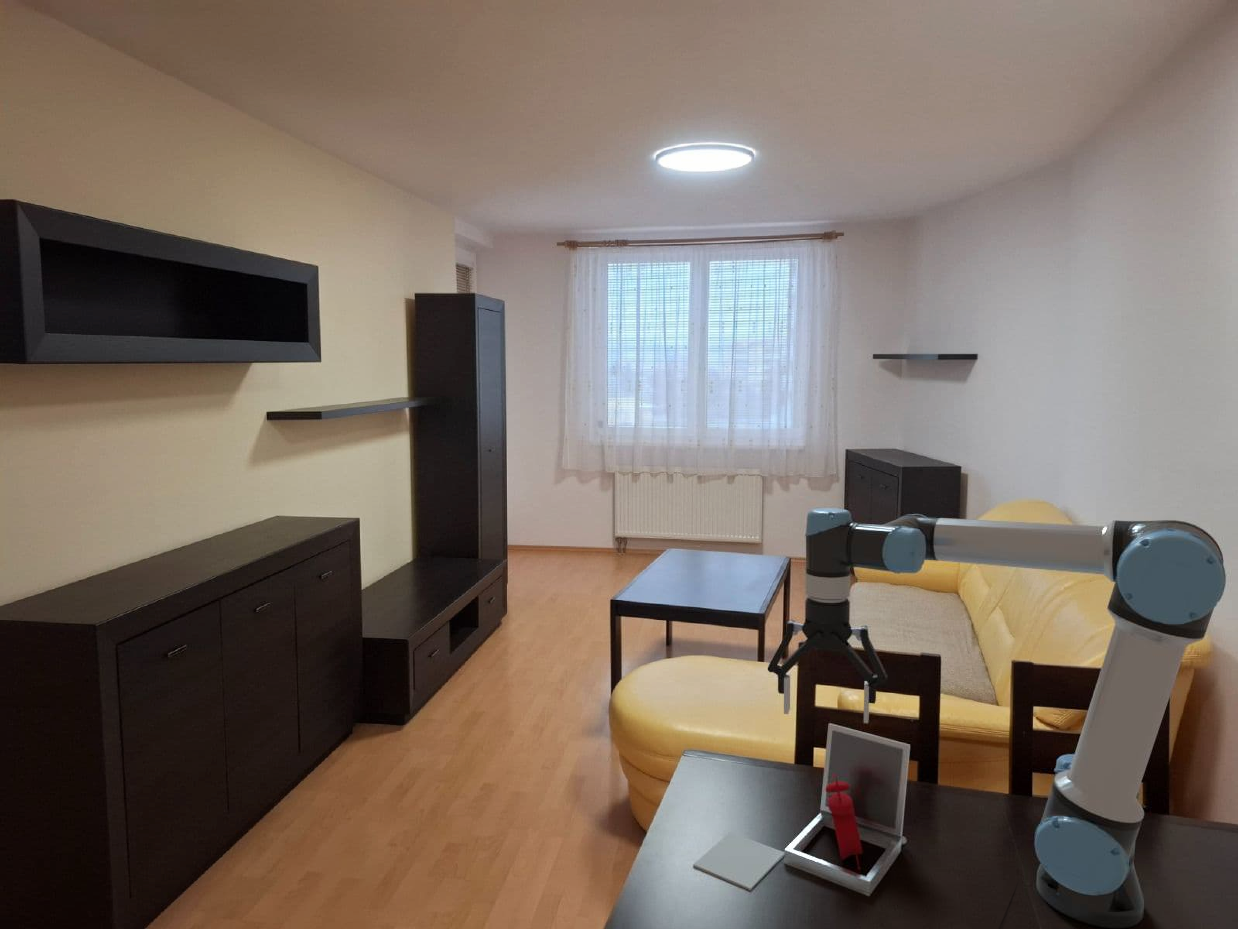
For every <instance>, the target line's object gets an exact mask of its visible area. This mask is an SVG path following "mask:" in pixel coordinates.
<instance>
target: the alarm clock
mask: <svg viewBox="0 0 1238 929" xmlns="http://www.w3.org/2000/svg"><path fill="white" fill-rule="evenodd" d="M834 776H835V781H836V782H833V783H829V784H828V785H827V786H826V792H828V793H832V792H837V793H836V794H833V795H829V800H828V807H829V810H830V811H831V812H832V817H833V822H834V827H835V829H834V831H835V836H836V841H837V845H838V850H839V854H840V859H841V861H844V860H846V859H847V858H849V857H851V856H855V859H856V860H855V861H856V863H857V870H861V867H860V862H859V857H858V855H862V854H863V853H864V852H863V847H862V842H861V839H860V837H859V832H858V827H857V823H856V818H855V813H854V809H853V802H852V799H851V797H849V796H848V795H847V794H844V793H839V792H841V791H846V790H849V789H850V787H849V785H848V784H847V783H846V782H838V781H837V777H836V773H835V772H834Z"/></svg>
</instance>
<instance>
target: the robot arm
mask: <svg viewBox="0 0 1238 929" xmlns="http://www.w3.org/2000/svg"><path fill="white" fill-rule="evenodd" d="M804 537H805V588H804V589H805V595H806V596H807V597H806V598H805V600H804V601H805V602H804V603H805V604H804V609H805V610H804V611H805V612H804V616H805V618H804V622H803V623H800V622H795V620H794V619H790V620H789V621H788V622H787V624H786V630H785V635H784V636H783V639H782V640H781V642H780V644H779V646H778V648H777V650H776V651H775V653H774V655H773V656H772V659H771V660H770V662H769V664H768V666H767V671H768V672H769V673H773V674H775V675H776V677H777V693H778V694H782V695H783V714H785V715H789V712H790V709H791V673H789V671H790V670H791V669H792V668H793V667H794V666H796V664H797V663H798V662H799V661H800V660H801V659H802V658H803V657H804V656H805V655H806V654H807V653H808V652H809V651H810V650H811V649H812V648H814V649H816V650H817V651H819V652H820V651H821V652H822V651H829V652H831V653H832V652H833V653H836V652H837V651H840V652H842V654H843V655H844V656H845V657H846V658H847V659H848V660H849V663H851V664H852V665H853V666H854V668H855V669H856V670H857V671H858V673H859V674H860V675H861V677H863V679H864V686H863V687H864V688H863V724H869V718H870V704H874V705H875V703H876V701H877V687H878V685H881V684H886V683H887V682H888V674H887V672H886V670H885V668H884V665H883V664H882V661H881V660H880V657H879V656H878V653H877V652H876V650H875V648H874V646H873V644H872V641H871V639H870V637H869V628H868V626H867V625H862V626H860V627H852V626H851V624H850V618H851V616H850V611H851V610H850V608H851V605H850V602H851V601H850V600H849V597H850V596H851V568H860V569H866V570H867V569H868V570H873V571H882V572H889V573H890V572H891V573H894V574H897V575H898V574H916V573H918V572H920V571H921V569H922V568H923V566H924V564H925V561H935V562H937V561H939V562H952V563H961V564H962V563H963V564H965V563H966V564H975V565H986V566H987V565H988V566H998V567H1008V568H1009V567H1010V568H1023V569H1033V570H1044V571H1045V570H1046V571H1055V572H1056V571H1057V572H1069V573H1080V574H1094V575H1103V576H1105V577H1106V578H1107V579H1108V580H1110V582H1112V583H1114V585H1113V588H1112V591H1111V595H1110V597H1109V601H1108V605H1107V607H1106V609H1107V611H1108V613H1109V614H1110V616H1111V617H1112V619H1113V620H1114V627H1113V630H1112V633H1111V637H1110V640H1109V643H1108V646H1107V650H1106V653H1105V656H1104V659H1103V661H1102V662H1103V663H1102V665H1101V668H1100V671H1099V676H1098V678H1097V682H1096V684H1095V688H1094V691H1093V694H1092V698H1091V700H1090V703H1089V707H1088V710H1087V714H1086V717H1085V719H1084V723H1083V727H1082V729H1081V733H1080V736H1079V740H1078V742H1077V746H1076V749H1075V752H1074V753H1072V754H1071V753H1068V754H1063V755H1061V756H1059V757H1058V758H1057V759H1056V763H1055V764H1056V765H1055V768H1054V770H1053V771H1054V772H1055V776H1054V779H1053V782H1052V785H1051V788H1050V791H1049V794H1048V798H1047V801H1046V804H1045V808H1044V811H1043V814H1042V818H1041V820H1040V823H1039V824H1038V825H1037V827H1036V829H1035V832H1034V848H1035V854H1036V856H1037V859H1038V861H1039V862H1040V864H1039V866H1038V868H1037V871H1036V889H1037V892H1038V893H1039V895H1040V897H1041V898H1043V900H1044V901H1045V902H1046V903H1047V904H1049V905H1050V906H1051V907H1052V908H1054V909H1055V910H1057V911H1058V912H1060V913H1062V914H1063V915H1066V916H1067V917H1070V918H1071V919H1074V920H1077V921H1079V922H1082V923H1085V924H1088V925H1092V926H1096V927H1101V928H1107V929H1108V928H1109V929H1126V928H1130V927H1134V926H1135V925H1138V924H1139V923H1140V922H1141V921H1142V920H1143V918H1144V911H1145V910H1144V908H1145V907H1144V906H1145V900H1144V895H1143V892H1142V890H1141V886H1140V882H1139V878H1138V875H1137V872H1136V868H1135V864H1134V863H1135V862H1134V860H1135V849H1136V840H1137V837H1138V834H1139V832H1140V829H1141V825H1142V822H1143V819H1144V817H1145V811H1144V809H1143V806H1142V805H1141V803H1140V802H1139V795H1140V794H1141V790H1140V787H1141V784H1142V780H1143V779H1144V775H1145V772H1146V768H1147V765H1148V763H1149V760H1150V757H1151V754H1152V751H1153V747H1154V744H1155V741H1156V739H1157V736H1158V733H1159V729H1160V727H1161V725H1162V724H1161V723H1162V720H1163V718H1164V714H1165V711H1166V709H1167V706H1168V702H1169V700H1170V697H1171V694H1172V690H1173V688H1174V685H1175V682H1176V679H1177V676H1178V673H1179V669H1180V667H1181V664H1182V660H1183V657H1184V654H1185V652H1186V649H1187V647H1188V646H1189V645H1192V644H1194V643H1197V642H1200V641H1203V640H1204V639H1205V635H1206V632H1207V629H1208V627H1209V624H1210V621H1211V618H1212V616H1213V612H1214V609H1215V607H1216V606H1217V605H1218V604H1217V603H1219V602H1220V601H1221V599H1222V597H1223V595H1224V592H1225V588H1226V583H1227V582H1226V581H1227V577H1226V576H1227V573H1226V569H1225V565H1224V556H1223V553H1222V549H1221V548H1220V546H1219V544H1218V542H1217V541H1216V540H1215V538H1214V537H1213V536H1212V535H1211V534H1210V533H1208V532H1207V531H1206V530H1205V529H1203V528H1202V527H1200V526H1198V525H1196V524H1193V523H1191V522H1187V521H1182V520H1175V519H1173V520H1172V519H1169V520H1168V519H1166V520H1165V519H1162V520H1161V519H1160V520H1112V521H1111V522H1109V523H1108V524H1107V525H1105V526H1104V525H1101V526H1099V525H1081V524H1065V523H1064V524H1061V523H1045V522H1044V523H1042V522H1041V523H1040V522H1024V521H1003V520H987V519H985V520H983V519H966V518H949V517H948V518H947V517H940V518H939V517H931V516H930V517H928V516H925V515H923V514H920V513H912V514H909V513H908V514H905V515H902V516H900V517H898V518H897V519H895V520H892V521H888V522H886V523H884V524H872V523H871V524H869V523H861V522H859V523H858V522H853V518H852V513H851V512H850V511H849V510H847V509H841V508H835V507H822V508H815V509H811V510H810V511H809V512H808V513H807V516H806V527H805V534H804ZM800 631H801V632H802V633H803V634H804V636H805V638H806V639H805V640H804V642H803V643H802V644H801V645H800V646H799V647H798V648H797V649H796V650H795V651H794V652H793V653H792V654H791V655H790V656H789V657H788V658H787V659H786V661H784V663H782V664H781V665H780V664H779V662H780V661H781V659H782V657H783V655H784V653H785V652H786V650H787V647H789V645H790V643H791V641H792V639H793V636H797V635H798V633H799V632H800ZM852 636H855V638H856V640H857V641H860V642H861V646H862V647H863V650H864V652H865V654H866V656H867V658H868V660H869V662H870V664H871V665H872V668H873V671H874V672H875V674H874V673H873V671H872V670H871V669H870V668H869V666H868V665H867V664H866V663H865V661H863V658H861V657H860V656H859V654H858V653H857V652H856V651H855V649H854V648H853V647H852V645H851V644H850V642H849V641H848V640H849V639H850V638H851V637H852Z"/></svg>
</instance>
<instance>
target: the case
mask: <svg viewBox="0 0 1238 929" xmlns="http://www.w3.org/2000/svg"><path fill="white" fill-rule="evenodd" d="M856 823H857V827H858V832H859V837H860V841H861V840H862V841H864V842H867V843H868V844H869V843H870V844H872V845H875V846H877V847H880V848H882V849H885V850H884V852H882V854H881V856H880V857H879V858H878V860H877V861H876V863H875V864H874V865H873V867H872V868H871V869H870V871H869V872H868V873H867V875H866V876H865V875H863V874H860V873H857V872H854V871H852V870H849V869H847V868H843V867H841V866H839V865H836V864H833V863H831V862H828V861H826V860H823V859H820V858H817V857H815V856H812V855H810V854H807V853H804V852H803V851H804V849H806V848H807V846H808V845H809V844H810V843H811V842H812V840H813V839H814V838H815V837H816V836H817V835H818V833H819V832H820V831H821V830H822V829H823V827H827V828H830V829H832V830H835V827H834V822H833V817H832V813H830V812H827V811H824V810H821V809H820V812H819V814H818V815H817V816H816V817H814V819H813V820H811V822H810V823H809V824H808V825H807V826H806V827H804V829H803V830H802V831H801V832H800V833H799V834H798V835H797V836H796V837H795V838H794V839H793V840H792V841H791V843H789V845H787V846H786V848H785V849H784V851H783V852H784V856H783V857H784V860H783V863H784V865H787V866H790V867H793V868H795V869H798V870H801V871H803V872H806V873H808V874H811V875H813V876H815V877H818V878H821V879H823V880H826V881H829V882H831V883H834V884H836V885H839V886H841V887H844V888H846V889H849V890H852V891H855V892H857V893H860V894H862V895H865V896H867V897H870V895H872V893H873V892H874V890H875V889H876V888H877V886H878V884H880V882H881V881H882V879H883V878H884V877H885V875H886V873H887V872H888V870H889V869H891V868H890V867H891V866H892V865H893V863H894V862H895V861H896V859H897V858H898V856H899V855H900V853H901V852H902V851H901V850H902V845H901V836H899V835H896V834H893V833H890V832H887V831H884V830H881V829H878V828H875V827H872V826H869V825H866V824H863V823H860V822H857V821H856Z"/></svg>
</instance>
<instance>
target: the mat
mask: <svg viewBox="0 0 1238 929" xmlns="http://www.w3.org/2000/svg"><path fill="white" fill-rule="evenodd" d="M783 857H784V851H781V850H779V849H776V848H773V847H771V846H769V845H766V844H763V843H760V842H758V841H756V840H753V839H750V838H747V837H745V836H742V835H739V834H737V833H734V832H732V831H729V832H728V833H727V834H726V835H725V836H724V837H722V839H720V840H719V841H718V842H717V843H716V844H715V845H713V846H712V847H711V848H710V849H709V850H708V851H707V852H705V853H704V854H703V855H702V856H700V857H699V859H697V860H696V861H695V862H694V863H693V866H692V867H694V868H696V869H698V870H700V871H702V872H705V873H708V874H710V875H712V876H714V877H717V878H719V879H722V880H724V881H727V882H729V883H732V884H733V885H736V886H739V887H741V888H744V889H746V890H747V891H750V892H751V891H752V890H753V889H754V888H755V886H757V885H758V884H759V882H761V881H762V879H763V878H764V877H765V876H766V875H768V873H769V872H770V871H771V870H772V869H773V868H774V867H775V866H776V865H777V864H778V863H779V862H780V861H781V860H782V859H783Z"/></svg>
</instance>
